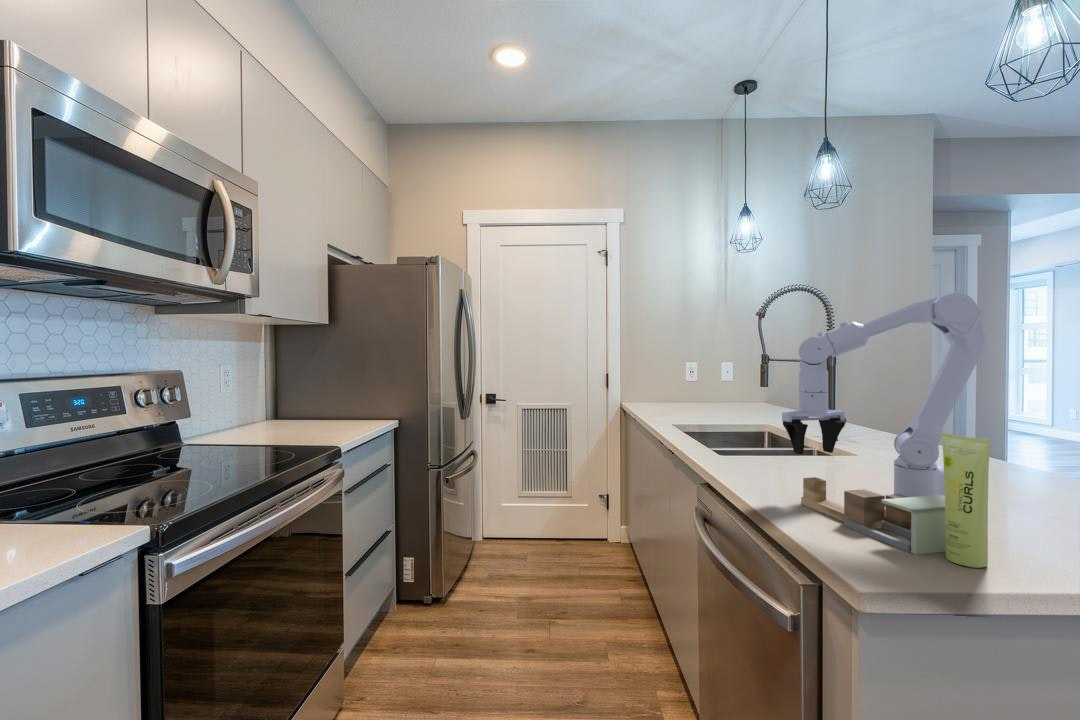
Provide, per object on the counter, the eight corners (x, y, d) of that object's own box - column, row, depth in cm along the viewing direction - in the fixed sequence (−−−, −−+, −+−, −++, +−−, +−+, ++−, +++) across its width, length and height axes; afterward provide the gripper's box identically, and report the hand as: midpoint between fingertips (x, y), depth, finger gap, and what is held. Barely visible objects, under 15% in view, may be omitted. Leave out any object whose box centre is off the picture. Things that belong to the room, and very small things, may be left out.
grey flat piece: (899, 519, 97) (900, 511, 97) (970, 545, 85) (970, 535, 84) (844, 525, 95) (844, 516, 95) (907, 551, 82) (908, 542, 82)
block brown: (878, 514, 100) (878, 486, 100) (918, 529, 92) (918, 499, 92) (861, 516, 100) (861, 488, 99) (900, 530, 91) (900, 500, 91)
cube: (864, 512, 97) (864, 489, 97) (884, 520, 93) (884, 495, 92) (844, 514, 96) (844, 490, 96) (863, 522, 92) (864, 497, 92)
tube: (940, 562, 78) (940, 435, 78) (941, 552, 82) (941, 431, 81) (989, 572, 74) (990, 439, 74) (988, 561, 78) (988, 435, 78)
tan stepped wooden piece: (817, 502, 108) (817, 477, 108) (882, 528, 93) (882, 498, 93) (801, 503, 108) (801, 478, 108) (863, 529, 92) (864, 499, 92)
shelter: (939, 533, 90) (939, 494, 90) (977, 547, 83) (977, 505, 83) (881, 539, 87) (881, 499, 87) (915, 554, 81) (916, 510, 81)
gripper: (827, 389, 118) (827, 447, 118) (772, 391, 115) (772, 450, 115) (852, 392, 111) (852, 453, 111) (794, 393, 108) (794, 457, 108)
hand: (813, 452), depth 113 cm, fingers open, 7 cm apart
